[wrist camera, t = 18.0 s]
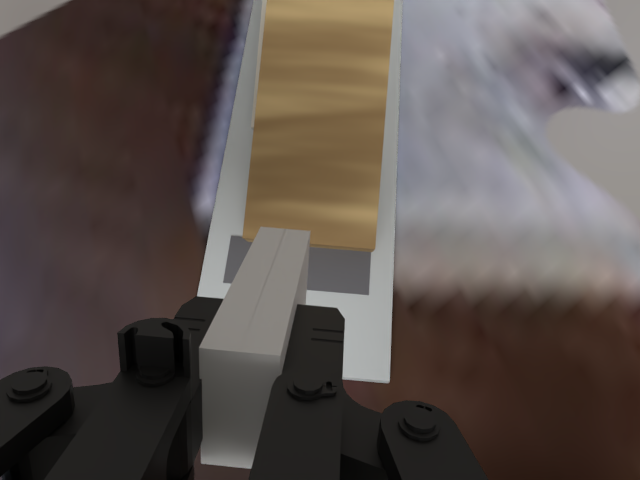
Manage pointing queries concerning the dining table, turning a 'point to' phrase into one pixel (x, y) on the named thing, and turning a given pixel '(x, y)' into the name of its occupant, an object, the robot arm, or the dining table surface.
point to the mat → (324, 264)
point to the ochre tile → (320, 121)
